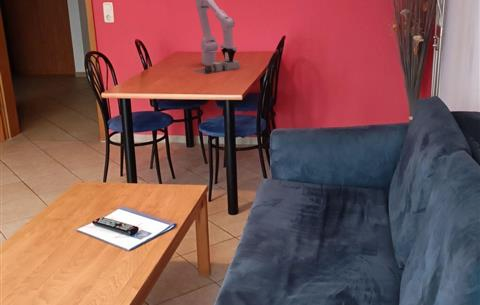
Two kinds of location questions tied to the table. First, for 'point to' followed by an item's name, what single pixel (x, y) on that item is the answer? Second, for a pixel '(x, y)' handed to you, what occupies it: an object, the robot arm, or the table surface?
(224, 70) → the base plate
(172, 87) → the table surface
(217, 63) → the pin guide
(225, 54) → the peg
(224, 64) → the socket
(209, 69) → the pin
